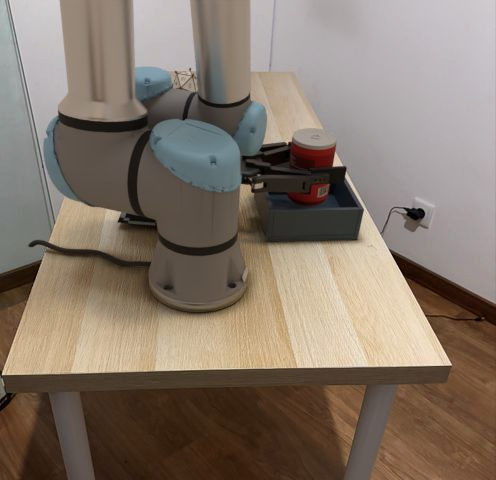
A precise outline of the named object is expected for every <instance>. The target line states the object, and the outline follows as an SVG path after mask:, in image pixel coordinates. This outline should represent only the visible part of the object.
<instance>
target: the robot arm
mask: <svg viewBox="0 0 496 480" xmlns="http://www.w3.org/2000/svg"><path fill="white" fill-rule="evenodd" d="M189 5H190V18H191V29H192V39H193V40H192V41H193V50H194V51H193V52H194V53H193V54H194V63H195V73H196V74H195V76H196V77H197V87H198V90H197V92H191V91H185V90H179V89H174V88H173V83H174V82H173V80H172V76H171V74H170V73H169V71H168V70H166V69H162V68H160V67H158V66H157V67H156V66H147V65H145V66H143V65H142V66H136V52H135V51H136V50H135V23H134V22H135V19H134V18H135V17H134V15H135V14H134V0H59V9H60V18H61V19H60V21H61V30H62V38H63V39H62V40H63V50H64V51H63V52H64V60H65V61H64V62H65V71H66V82H67V94H66V95H65V96H63V98H62V100H61V101H60V102H59V103H58V105H57V114H58V115H56V116H54V117H53V118H52V119H51V120H50V122H49V123H48V125H47V127H46V130H45V133H46V136H47V137H44V138H43V142H42V143H43V144H42V145H43V146H42V149H43V150H42V151H43V152H42V153H43V161H44V165H45V169H46V173H47V174H48V177H49V179H50V181H51V183H52V184H53V186H54V187H55V189H56V190H57V191H58V192H59V193H60V194H62V195H63V196H64V197H65V198H67V199H69V200H71V201H73V202H77V203H81V204H83V205H85V206H88V207H91V208H100V209H106V210H110V211H114V212H120V213H121V212H124V213H129V214H133V215H138V216H143V217H147V218H151V219H154V220H156V221H157V226H156V228H157V229H156V230H157V242H156V245H155V248H154V251H153V254H152V258H151V261H143V260H142V261H141V260H123V259H120V258H117V257H115V256H113V255H111V254H110V253H107V252H104V251H101V250H97V249H91V248H66V247H61V246H58V245H55V244H53V243H52V242H48V241H46V240H43V239H33V240H31V242H29V243H28V245H27V247H28V248H34V247H36V246H43V247H45V248H48V249H50V250H51V251H55V252H57V253H61V254H67V255H89V256H96V257H97V256H98V257H101V258H103V259H106V260H108V261H110V262H112V263H114V264H116V265H119V266H123V267H141V268H142V267H143V268H145V267H146V268H149V269H148V286H149V290H150V292H151V294H152V295H153V297H154V298H155V299H157V300H158V301H159V302H160V303H161V304H163V305H165V306H168V307H169V308H172V309H174V310H178V311H182V312H190V313H208V312H215V311H218V310H222V309H225V308H227V307H230V306H232V305H233V304H235V303H236V302H238V301H239V300H240V299H241V298H242V297H243V296H244V295H245V293H246V291H247V288H248V278H249V277H248V275H249V267H248V264H246V262H245V259H244V257H243V253H242V250H241V246H240V244H239V239H238V235H239V219H240V218H239V216H240V197H241V196H240V195H241V185H245V186H250V193H252V194H254V193H261V192H304V193H306V192H309V188H310V185H316V184H333V183H344V180H345V178H346V175H347V169H348V168H347V166H346V165H338V166H337V165H336V166H333V167H319V168H309V171H306V170H298V169H289V168H281V167H273V166H275V165H279V164H282V163H286V162H289V161H290V151H291V143H292V141H288V142H285V141H278V142H273V143H264V142H265V137H266V133H267V127H268V114H267V108H266V107H265V104H263V103H261V102H257V101H256V100H252V99H251V98H252V97H251V90H252V89H251V88H252V87H251V86H252V85H251V83H252V82H251V78H252V77H251V76H252V75H251V73H252V72H251V71H252V69H251V67H252V66H251V65H252V63H251V60H252V57H251V55H252V53H251V47H252V46H251V45H252V44H251V43H252V42H251V38H252V37H251V0H189ZM287 145H288V146H287ZM265 169H266V173H265Z"/></svg>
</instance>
